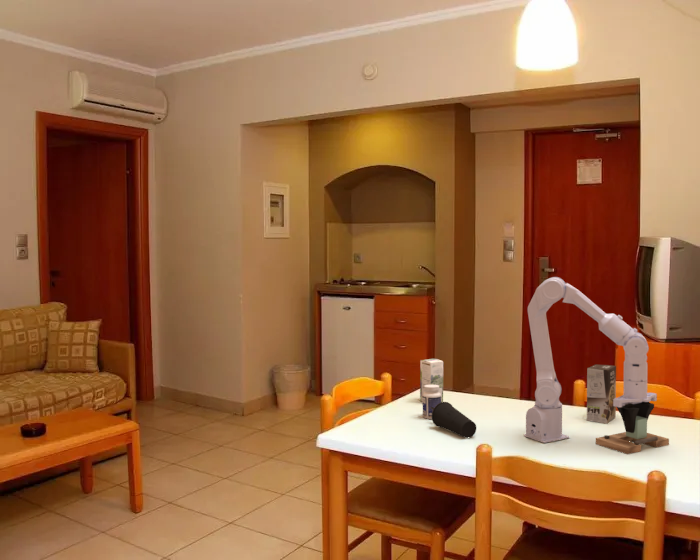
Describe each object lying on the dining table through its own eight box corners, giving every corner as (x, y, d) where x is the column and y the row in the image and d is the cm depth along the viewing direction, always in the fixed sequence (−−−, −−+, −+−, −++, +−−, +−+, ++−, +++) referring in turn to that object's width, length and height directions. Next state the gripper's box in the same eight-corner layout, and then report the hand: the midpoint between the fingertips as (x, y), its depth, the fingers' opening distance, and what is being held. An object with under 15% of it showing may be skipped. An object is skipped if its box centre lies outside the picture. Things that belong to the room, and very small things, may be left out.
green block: (637, 439, 168) (637, 420, 167) (625, 435, 171) (626, 417, 171) (646, 437, 169) (647, 418, 169) (635, 433, 172) (635, 415, 172)
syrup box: (432, 399, 226) (432, 358, 226) (443, 402, 221) (443, 360, 221) (419, 401, 223) (419, 359, 223) (430, 404, 218) (430, 362, 218)
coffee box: (608, 424, 192) (608, 369, 191) (586, 420, 195) (586, 367, 195) (616, 417, 199) (616, 365, 198) (595, 414, 203) (595, 363, 202)
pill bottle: (444, 416, 202) (444, 384, 202) (436, 420, 198) (436, 388, 197) (427, 414, 206) (427, 383, 205) (419, 418, 201) (419, 386, 200)
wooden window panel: (627, 454, 163) (627, 444, 163) (595, 444, 172) (595, 434, 172) (668, 444, 171) (669, 434, 170) (636, 435, 179) (636, 426, 179)
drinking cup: (459, 447, 178) (423, 423, 196) (482, 437, 181) (444, 414, 199) (455, 422, 176) (418, 400, 194) (478, 412, 179) (439, 392, 197)
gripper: (629, 385, 163) (629, 438, 163) (667, 379, 170) (666, 430, 170) (606, 380, 169) (606, 432, 170) (643, 374, 176) (643, 424, 176)
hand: (635, 430), depth 170 cm, fingers closed on green block, 4 cm apart
